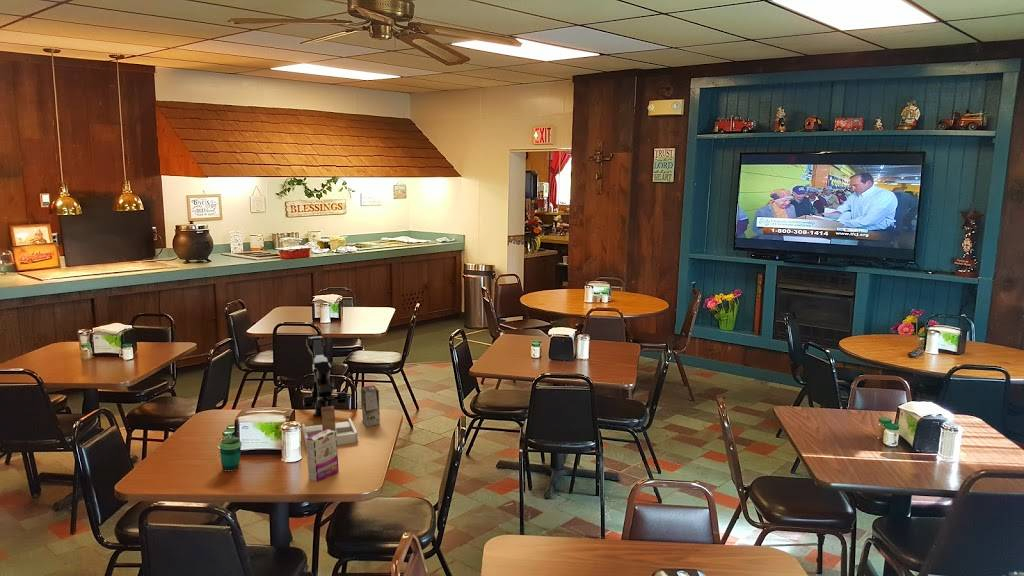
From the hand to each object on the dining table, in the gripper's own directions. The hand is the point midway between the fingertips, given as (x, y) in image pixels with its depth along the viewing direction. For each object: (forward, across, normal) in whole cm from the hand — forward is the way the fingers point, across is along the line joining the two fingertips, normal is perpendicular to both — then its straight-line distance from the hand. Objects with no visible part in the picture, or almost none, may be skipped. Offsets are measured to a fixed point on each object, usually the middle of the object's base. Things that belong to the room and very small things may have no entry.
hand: (327, 416), depth 316 cm
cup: (+24, -39, -12) cm, 48 cm away
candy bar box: (+38, -7, -26) cm, 46 cm away
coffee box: (0, +20, +11) cm, 23 cm away
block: (+6, 0, +2) cm, 6 cm away
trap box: (+9, 0, +2) cm, 9 cm away
